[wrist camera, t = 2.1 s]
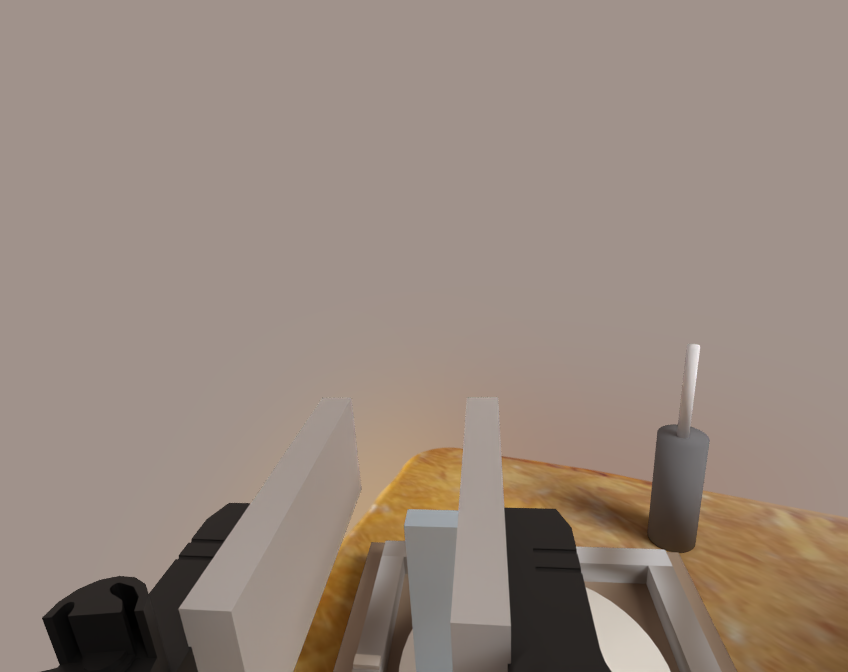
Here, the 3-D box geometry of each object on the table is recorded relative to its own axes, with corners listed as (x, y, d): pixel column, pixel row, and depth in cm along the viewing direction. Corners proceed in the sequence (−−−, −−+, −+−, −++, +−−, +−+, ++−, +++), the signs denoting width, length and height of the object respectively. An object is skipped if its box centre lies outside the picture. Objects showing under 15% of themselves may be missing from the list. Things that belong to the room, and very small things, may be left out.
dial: (634, 594, 33) (649, 443, 29) (735, 887, 20) (783, 674, 16) (417, 585, 34) (406, 441, 31) (375, 848, 21) (348, 648, 18)
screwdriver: (685, 523, 42) (709, 337, 37) (702, 553, 38) (731, 354, 33) (642, 522, 42) (659, 338, 37) (655, 551, 39) (676, 354, 34)
